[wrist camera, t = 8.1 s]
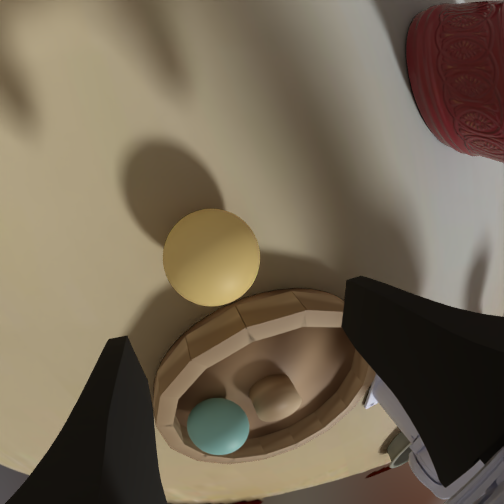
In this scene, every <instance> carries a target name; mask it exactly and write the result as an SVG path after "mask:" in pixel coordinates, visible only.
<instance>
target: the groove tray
mask: <svg viewBox="0 0 504 504" xmlns="http://www.w3.org/2000/svg"><path fill="white" fill-rule="evenodd" d="M343 309H344V300H342V299H340V298H339V297H337V296H335V295H333V294H330V293H327V292H324V291H319V290H314V289H302V288H292V289H280V290H274V291H269V292H264V293H260V294H257V295H253V296H250V297H247V298H244V299H241V300H239V301H236V302H234V303H232V304H229V305H227V306H224V307H223V308H221V309H219V310H217V311H215V312H213V313H212V314H210V315H208V316H207V317H205V318H204V319H202V320H201V321H199V322H198V323H196V324H195V325H193V326H192V327H191V328H190V329H189V330H188V331H186V332H185V333H184V334H183V335H182V336H181V337H180V338H179V339H178V340H177V341H176V342H175V343H174V344H173V345H172V347H171V348H170V349H169V350H168V352H167V353H166V355H165V356H164V358H163V359H162V361H161V364H160V366H159V368H158V370H157V373H156V377H155V381H154V400H153V407H154V415H155V423H156V427H157V429H158V430H159V432H160V433H161V435H162V436H163V438H164V439H165V441H166V442H167V444H168V445H169V447H170V448H171V449H173V450H175V451H177V452H179V453H182V454H184V455H186V456H188V457H190V458H192V459H194V460H197V461H204V462H213V463H222V464H234V463H243V462H250V461H257V460H263V459H267V458H270V457H273V456H276V455H279V454H282V453H285V452H288V451H290V450H293V449H296V448H297V447H300V446H302V445H304V444H305V443H307V442H309V441H311V440H312V439H314V438H316V437H318V436H319V435H321V434H323V433H324V432H326V431H328V430H329V429H330V428H332V427H333V426H334V425H335V424H336V423H337V422H339V421H340V420H341V419H342V418H343V417H344V416H345V415H347V414H348V413H349V412H350V411H351V410H352V409H353V408H354V407H355V406H356V405H357V403H358V402H359V401H360V399H361V398H362V397H363V395H364V394H365V392H366V391H367V389H368V388H369V387H370V385H371V384H372V382H373V381H374V378H375V375H376V373H375V371H374V370H373V369H372V368H371V367H370V366H369V364H368V363H367V362H366V361H365V360H364V358H363V357H362V356H361V355H360V354H359V353H358V351H357V350H356V349H355V348H354V346H353V344H352V343H351V341H350V340H349V338H348V337H347V335H346V333H345V332H344V330H343V328H342V327H341V325H342V317H343ZM210 398H224V399H228V400H231V401H233V402H234V403H236V404H237V405H239V406H240V407H241V408H242V409H243V410H244V412H245V413H246V415H247V417H248V421H249V434H248V437H247V439H246V441H245V443H244V444H243V445H242V446H241V447H240V448H239V449H237V450H236V451H234V452H232V453H229V454H225V455H213V454H209V453H206V452H204V451H202V450H201V449H199V448H198V447H197V446H196V445H195V444H194V443H193V442H192V440H191V439H190V437H189V434H188V431H187V420H188V416H189V414H190V412H191V411H192V409H193V408H194V407H195V406H196V405H197V404H199V403H200V402H202V401H204V400H206V399H210Z"/></svg>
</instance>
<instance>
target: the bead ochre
mask: <svg viewBox="0 0 504 504" xmlns="http://www.w3.org/2000/svg"><path fill="white" fill-rule="evenodd" d="M163 265H164V270H165V273H166V276H167V278H168V280H169V282H170V284H171V285H172V286H173V288H174V289H175V290H176V291H177V292H178V293H179V294H180V295H181V296H182V297H184V298H185V299H187V300H189V301H191V302H193V303H195V304H199V305H203V306H220V305H225V304H228V303H230V302H233V301H235V300H236V299H238V298H239V297H241V296H242V295H243V294H244V293H245V292H246V291H247V290H248V289H249V288H250V287H251V285H252V284H253V282H254V280H255V278H256V276H257V273H258V270H259V265H260V250H259V245H258V242H257V239H256V237H255V235H254V233H253V232H252V230H251V229H250V227H249V226H248V225H247V224H246V223H245V222H244V221H243V220H242V219H241V218H239V217H238V216H236V215H234V214H232V213H230V212H228V211H224V210H220V209H202V210H199V211H195V212H193V213H190V214H189V215H187V216H185V217H184V218H182V219H181V220H180V221H179V222H178V223H177V224H176V225H175V226H174V227H173V228H172V230H171V231H170V233H169V235H168V237H167V239H166V242H165V245H164V250H163Z"/></svg>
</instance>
